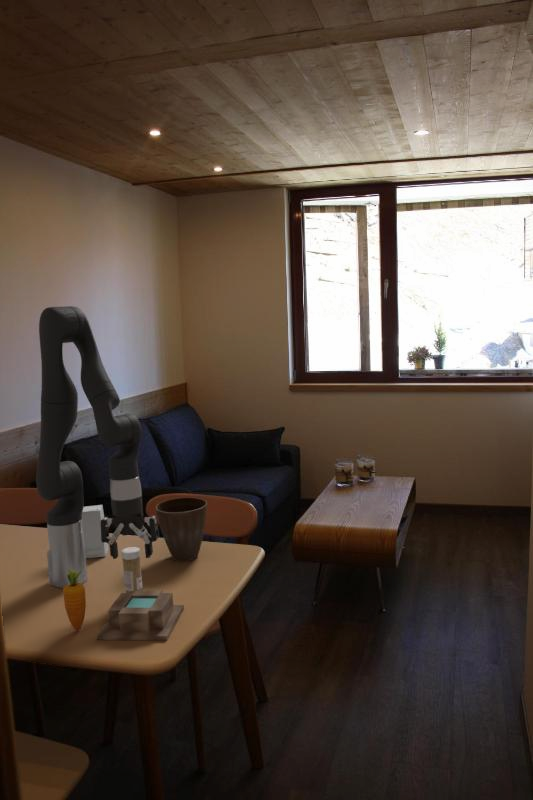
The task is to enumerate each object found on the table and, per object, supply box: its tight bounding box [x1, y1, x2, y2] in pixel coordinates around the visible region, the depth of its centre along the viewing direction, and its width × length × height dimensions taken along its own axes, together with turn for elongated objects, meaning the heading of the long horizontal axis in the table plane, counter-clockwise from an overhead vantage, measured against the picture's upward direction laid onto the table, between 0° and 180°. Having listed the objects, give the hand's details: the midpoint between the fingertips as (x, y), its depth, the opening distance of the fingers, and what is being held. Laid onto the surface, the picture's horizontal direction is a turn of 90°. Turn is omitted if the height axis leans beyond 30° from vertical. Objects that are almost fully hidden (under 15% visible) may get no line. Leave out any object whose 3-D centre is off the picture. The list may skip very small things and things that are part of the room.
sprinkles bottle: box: [121, 546, 143, 593], centre depth 176 cm, size 5×5×14 cm
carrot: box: [62, 569, 87, 632], centre depth 161 cm, size 5×5×15 cm
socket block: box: [97, 589, 185, 641], centre depth 163 cm, size 16×16×6 cm
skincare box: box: [82, 504, 109, 559], centre depth 211 cm, size 8×6×15 cm
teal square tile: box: [126, 598, 157, 608], centre depth 163 cm, size 6×6×1 cm
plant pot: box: [155, 497, 208, 562], centre depth 205 cm, size 15×15×16 cm
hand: (132, 557), depth 176 cm, fingers open, 8 cm apart
